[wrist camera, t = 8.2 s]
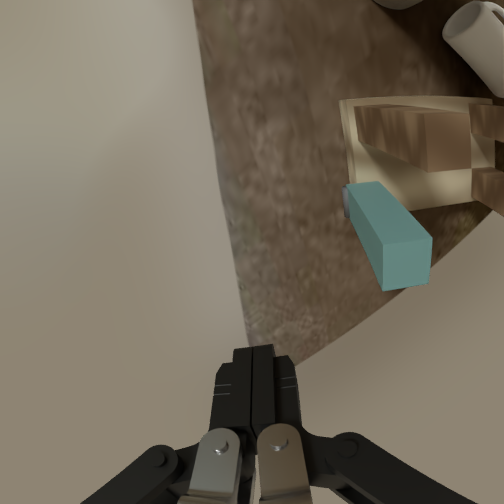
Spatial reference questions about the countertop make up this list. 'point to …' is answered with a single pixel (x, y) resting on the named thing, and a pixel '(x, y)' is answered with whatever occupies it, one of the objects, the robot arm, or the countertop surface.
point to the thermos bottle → (397, 3)
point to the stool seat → (426, 148)
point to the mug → (479, 41)
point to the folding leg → (388, 235)
